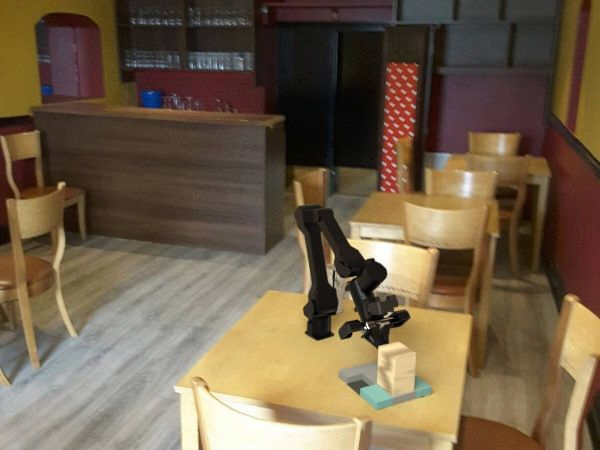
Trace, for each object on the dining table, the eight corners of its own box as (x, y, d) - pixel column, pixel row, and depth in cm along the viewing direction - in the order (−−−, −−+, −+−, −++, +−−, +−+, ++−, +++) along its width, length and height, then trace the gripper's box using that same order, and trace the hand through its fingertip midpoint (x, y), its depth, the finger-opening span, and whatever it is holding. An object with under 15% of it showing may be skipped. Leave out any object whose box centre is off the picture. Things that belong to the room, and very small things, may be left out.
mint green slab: (359, 395, 152) (360, 388, 151) (413, 381, 159) (413, 373, 159) (376, 410, 146) (377, 402, 145) (431, 394, 153) (431, 386, 152)
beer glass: (343, 315, 199) (344, 271, 195) (321, 313, 201) (322, 269, 197) (346, 307, 206) (347, 264, 202) (325, 305, 207) (326, 262, 203)
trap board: (338, 377, 161) (338, 370, 160) (389, 363, 168) (390, 357, 167) (376, 410, 146) (377, 402, 145) (431, 394, 153) (431, 386, 152)
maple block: (376, 383, 154) (378, 346, 151) (396, 377, 157) (398, 341, 154) (393, 396, 148) (395, 358, 145) (414, 390, 150) (416, 352, 148)
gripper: (345, 291, 150) (369, 352, 143) (408, 279, 158) (433, 336, 151) (328, 310, 159) (350, 368, 152) (389, 298, 167) (412, 352, 160)
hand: (387, 355), depth 154 cm, fingers closed, pressing on maple block
